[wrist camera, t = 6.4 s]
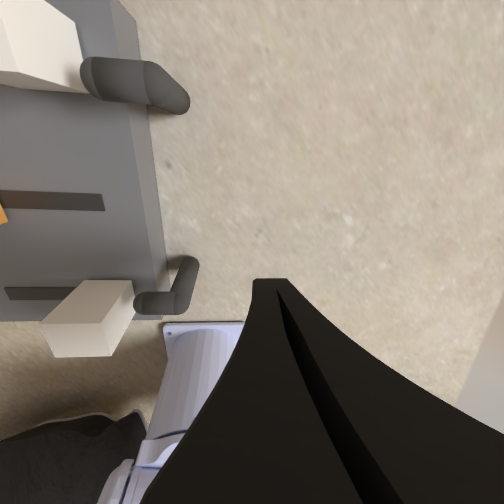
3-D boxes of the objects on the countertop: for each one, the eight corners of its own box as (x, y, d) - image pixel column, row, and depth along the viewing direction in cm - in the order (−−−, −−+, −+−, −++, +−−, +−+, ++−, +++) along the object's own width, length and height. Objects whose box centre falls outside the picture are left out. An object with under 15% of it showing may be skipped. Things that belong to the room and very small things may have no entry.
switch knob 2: (137, 308, 16) (111, 356, 13) (94, 309, 16) (54, 357, 13) (131, 280, 15) (100, 323, 12) (84, 279, 15) (38, 323, 12)
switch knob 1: (90, 93, 11) (18, 72, 7) (21, 88, 10) (-90, 63, 7) (74, 22, 10) (-20, -46, 6) (-4, 14, 9) (-151, -62, 6)
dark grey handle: (200, 268, 19) (188, 319, 14) (160, 268, 19) (131, 320, 13) (191, 89, 13) (163, 57, 8) (133, 84, 13) (65, 48, 8)
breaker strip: (171, 295, 20) (161, 320, 17) (23, 295, 19) (-12, 322, 16) (135, 20, 12) (106, -15, 9) (-125, -7, 11) (-246, -55, 8)
